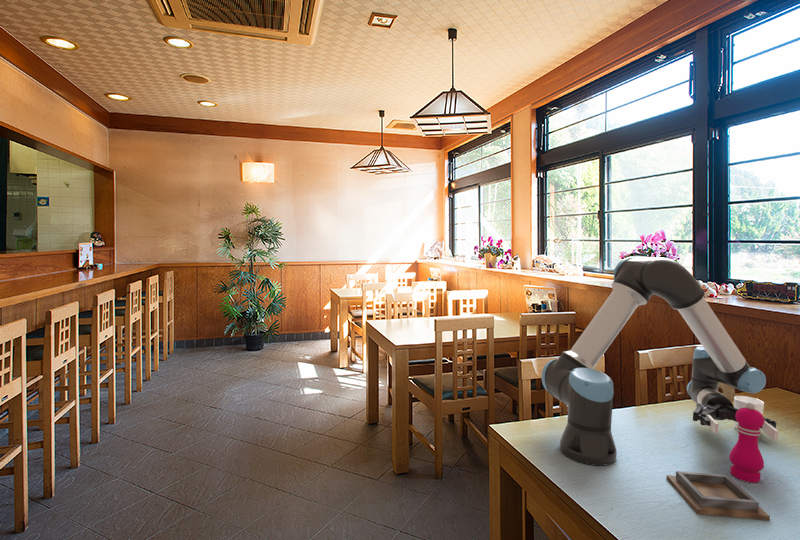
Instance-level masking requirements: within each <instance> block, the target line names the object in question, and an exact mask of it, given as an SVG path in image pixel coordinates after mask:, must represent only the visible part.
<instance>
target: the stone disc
mask: <svg viewBox="0 0 800 540" xmlns="http://www.w3.org/2000/svg"><path fill="white" fill-rule="evenodd" d="M718 389H721V392H720V393H721V394H723V395H724V396H725V397H726V398H727V399H729V400H730V401H731V402H732V403H734V397H735V396H736V391H735V388H734V387H731V386H729V385H726V384H724V383H721V382H719V383H718Z"/></svg>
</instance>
